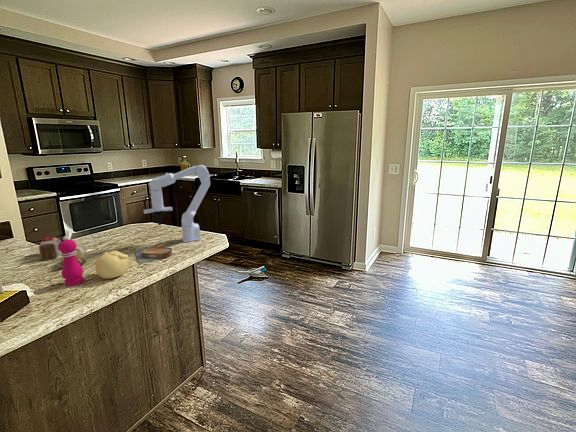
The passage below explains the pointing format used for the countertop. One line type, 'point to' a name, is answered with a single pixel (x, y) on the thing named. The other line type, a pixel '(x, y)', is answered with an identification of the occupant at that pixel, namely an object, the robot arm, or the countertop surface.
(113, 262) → the sculpture
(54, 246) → the food item
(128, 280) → the countertop surface
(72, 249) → the pepper mill
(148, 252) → the tin
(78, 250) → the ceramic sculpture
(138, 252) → the mat
